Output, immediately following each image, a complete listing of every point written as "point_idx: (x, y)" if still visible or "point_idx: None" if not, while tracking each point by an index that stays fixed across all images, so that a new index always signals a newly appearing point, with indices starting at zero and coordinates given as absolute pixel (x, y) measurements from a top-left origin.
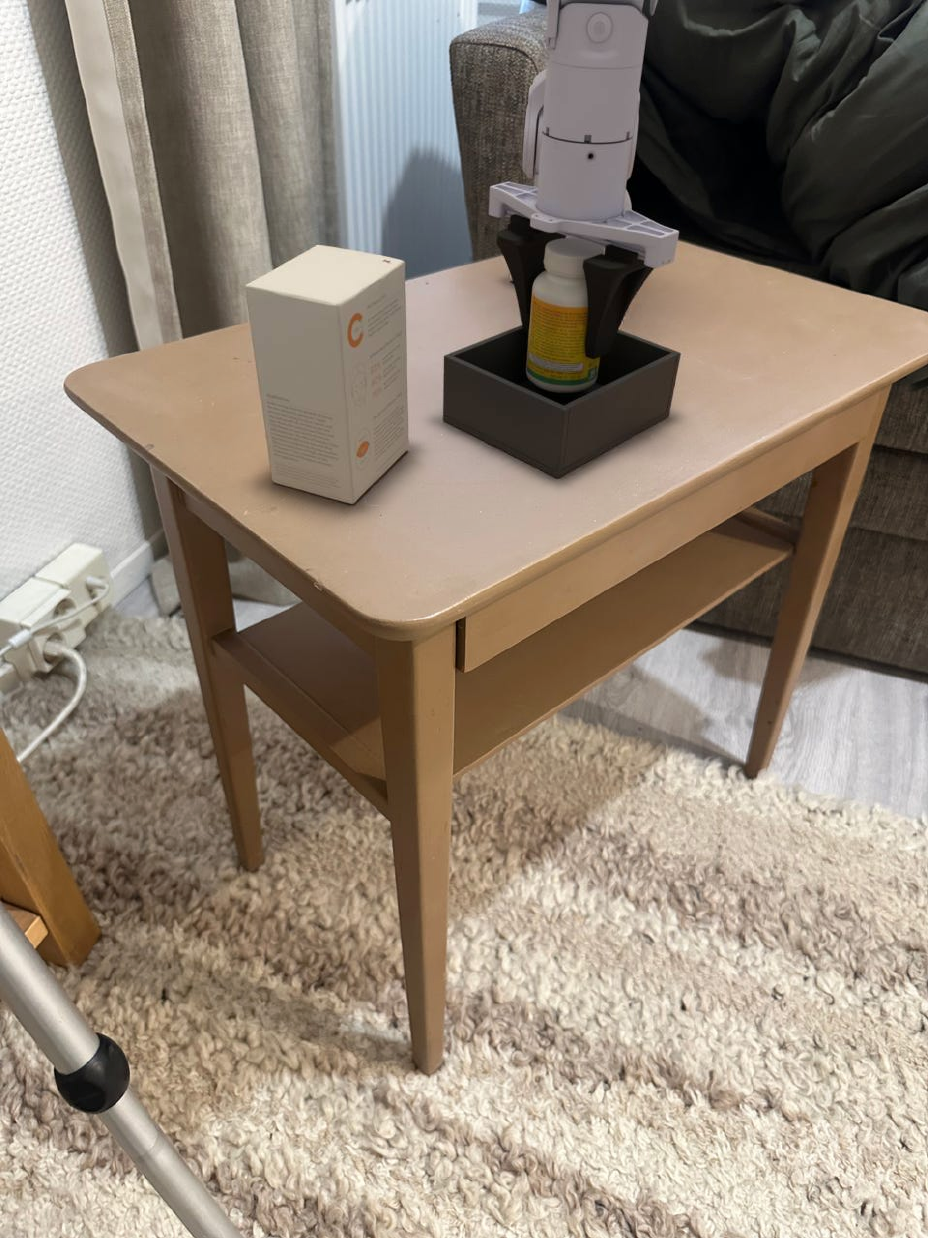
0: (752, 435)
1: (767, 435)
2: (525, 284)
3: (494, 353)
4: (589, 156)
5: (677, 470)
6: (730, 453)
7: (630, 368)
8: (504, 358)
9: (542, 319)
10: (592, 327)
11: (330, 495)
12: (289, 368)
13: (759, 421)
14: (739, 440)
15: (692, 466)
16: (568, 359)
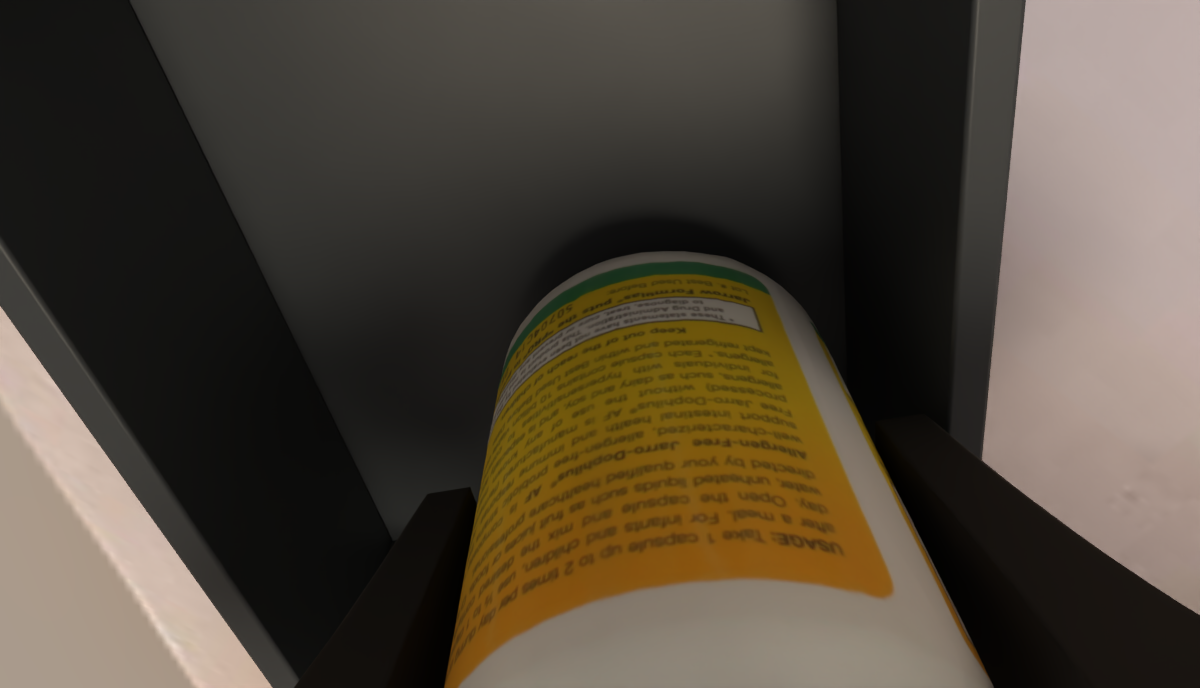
0: (194, 634)
1: (182, 658)
2: (1049, 642)
3: (918, 173)
4: None
5: (39, 364)
6: (109, 541)
7: None
8: (899, 238)
9: (676, 473)
10: (366, 624)
11: None
12: None
13: (261, 684)
14: (177, 597)
15: (55, 415)
16: (509, 412)
